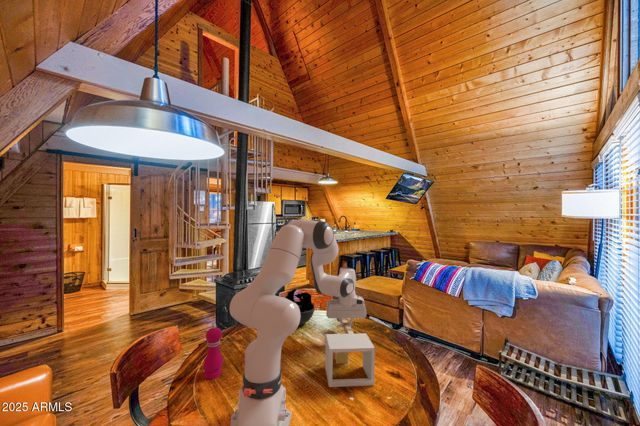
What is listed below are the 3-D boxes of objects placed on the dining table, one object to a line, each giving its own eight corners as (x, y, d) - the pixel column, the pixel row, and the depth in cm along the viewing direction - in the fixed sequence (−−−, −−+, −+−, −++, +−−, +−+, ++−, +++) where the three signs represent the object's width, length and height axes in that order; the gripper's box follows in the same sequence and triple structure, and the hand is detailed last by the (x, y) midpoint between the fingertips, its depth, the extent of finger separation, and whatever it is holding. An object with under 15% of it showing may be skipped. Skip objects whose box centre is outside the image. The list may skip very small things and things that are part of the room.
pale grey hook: (360, 347, 115) (360, 340, 115) (332, 348, 114) (332, 341, 114) (344, 318, 150) (344, 312, 150) (323, 318, 149) (323, 313, 149)
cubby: (374, 385, 101) (374, 347, 102) (328, 387, 100) (329, 349, 100) (365, 366, 114) (366, 333, 114) (325, 367, 112) (325, 334, 112)
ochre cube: (347, 363, 116) (348, 352, 116) (336, 363, 116) (336, 352, 116) (345, 357, 121) (345, 346, 121) (334, 357, 121) (335, 346, 121)
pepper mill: (215, 381, 102) (217, 329, 102) (199, 378, 103) (200, 327, 103) (226, 370, 109) (227, 321, 109) (210, 368, 110) (211, 319, 110)
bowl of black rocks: (313, 331, 147) (314, 297, 147) (277, 330, 147) (278, 296, 147) (314, 317, 167) (315, 287, 167) (283, 316, 167) (283, 286, 167)
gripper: (327, 300, 131) (326, 329, 131) (367, 301, 133) (366, 328, 133) (325, 297, 138) (324, 324, 137) (364, 297, 140) (363, 323, 139)
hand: (345, 326), depth 135 cm, fingers closed on pale grey hook, 2 cm apart
